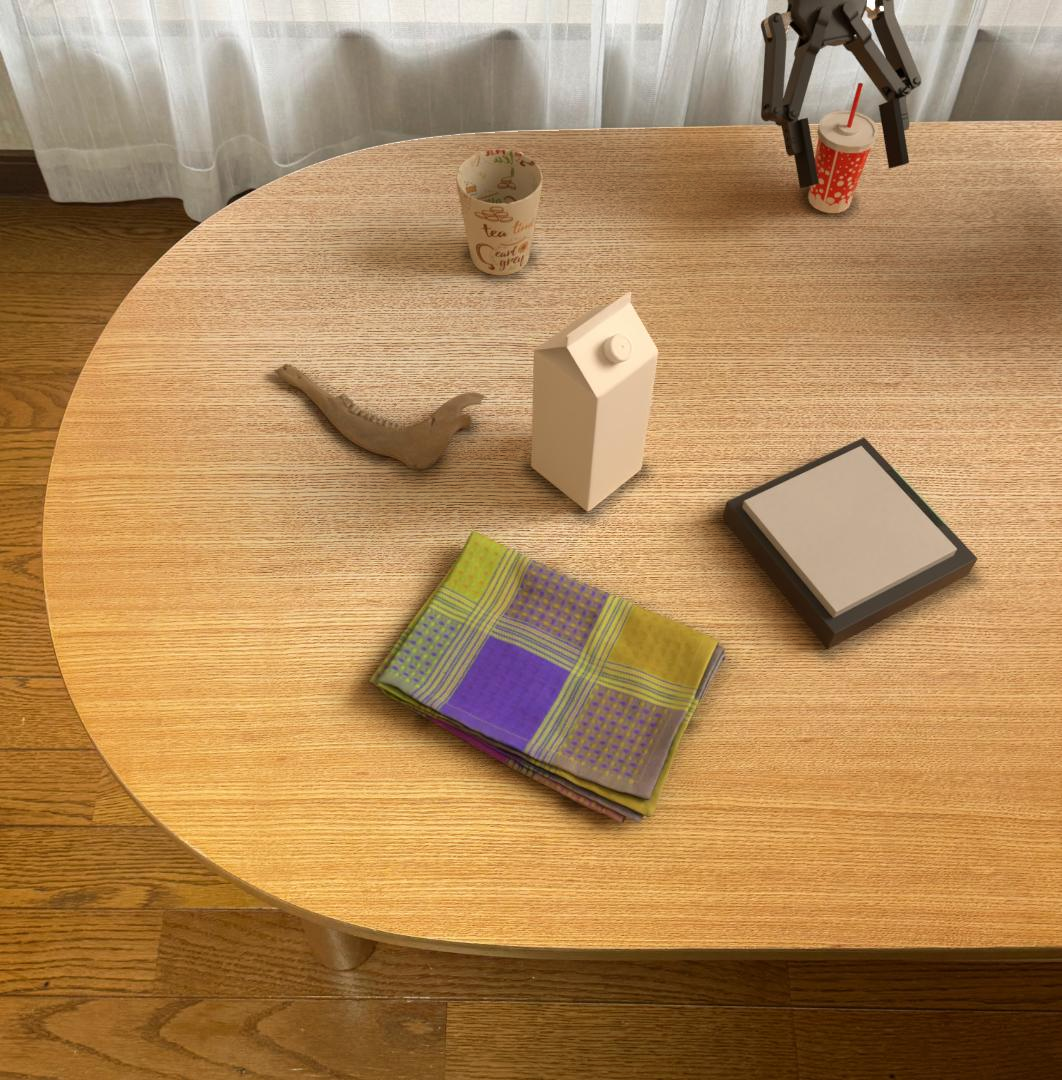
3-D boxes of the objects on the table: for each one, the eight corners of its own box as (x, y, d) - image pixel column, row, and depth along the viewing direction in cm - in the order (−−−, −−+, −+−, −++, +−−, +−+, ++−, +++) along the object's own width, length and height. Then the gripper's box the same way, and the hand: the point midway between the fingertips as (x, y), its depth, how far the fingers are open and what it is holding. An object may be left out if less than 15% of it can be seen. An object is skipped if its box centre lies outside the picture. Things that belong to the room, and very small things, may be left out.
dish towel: (477, 535, 101) (476, 516, 99) (737, 657, 94) (743, 640, 92) (363, 693, 92) (359, 676, 90) (641, 840, 85) (645, 826, 83)
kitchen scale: (858, 454, 107) (867, 429, 104) (969, 574, 99) (983, 551, 96) (721, 518, 102) (727, 494, 99) (827, 649, 95) (837, 627, 92)
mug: (450, 276, 119) (445, 196, 111) (482, 198, 127) (480, 118, 118) (529, 290, 118) (530, 210, 110) (557, 211, 126) (560, 131, 117)
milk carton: (530, 468, 105) (533, 312, 90) (585, 426, 108) (597, 268, 93) (587, 514, 102) (601, 361, 87) (642, 469, 105) (664, 314, 90)
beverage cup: (866, 193, 128) (900, 78, 116) (845, 225, 125) (878, 110, 113) (814, 174, 130) (843, 59, 118) (792, 205, 127) (819, 90, 115)
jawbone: (463, 484, 105) (461, 471, 103) (246, 446, 107) (241, 433, 105) (487, 404, 109) (485, 391, 107) (278, 370, 112) (274, 356, 110)
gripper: (894, -57, 123) (928, 160, 127) (699, -21, 118) (741, 203, 123) (936, -83, 115) (970, 148, 120) (729, -46, 111) (773, 192, 115)
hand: (854, 175), depth 121 cm, fingers open, 10 cm apart
